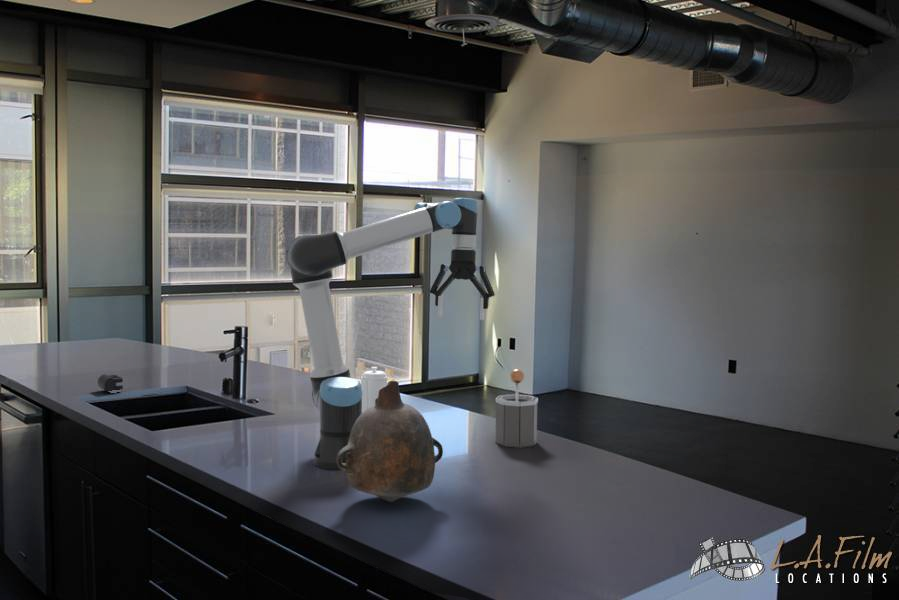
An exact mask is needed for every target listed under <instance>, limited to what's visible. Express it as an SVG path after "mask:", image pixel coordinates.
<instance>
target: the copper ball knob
mask: <svg viewBox="0 0 899 600" xmlns="http://www.w3.org/2000/svg"><path fill="white" fill-rule="evenodd" d="M509 378H510V381H512V382H513V383H514V384H515V388H514V389H515V391H514V392H515V393H514V394H515V401H518V397H519V395H520V394H519V393H520V392H519V387H520V384H521V383H523V381H524V379H525V373H524V372H523V370H521V369H518V368H517V369H516V368H515V369H513V370H512V371H511V372H510V376H509Z"/></svg>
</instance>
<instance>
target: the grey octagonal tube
mask: <svg viewBox="0 0 899 600" xmlns="http://www.w3.org/2000/svg"><path fill="white" fill-rule="evenodd" d="M538 403H539V398H538V397H536V396H533V395H528V394H519V397H518V401H515V393H512V394H501V395H498V396H497V397H495V406H496V407H495V443H496V444H498V445H499V446H502V447H508V448H516V449H517V448H529V447H533V446H535V445H537V441H538V440H537V439H538V438H537V437H538V434H537V433H538Z"/></svg>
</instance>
